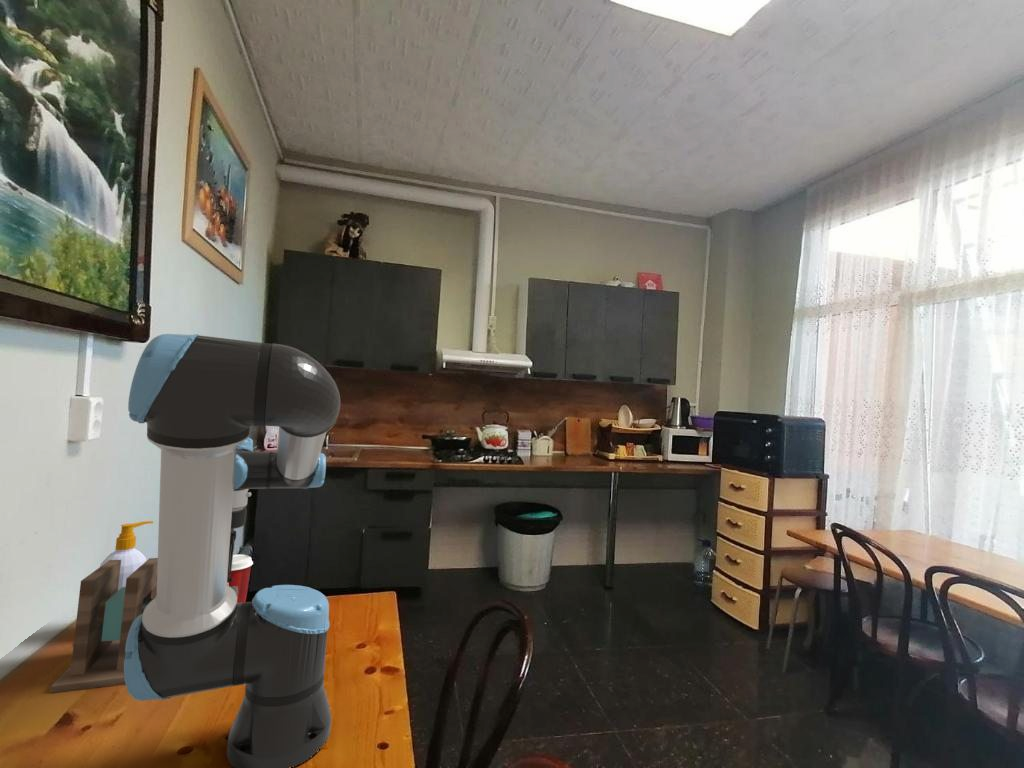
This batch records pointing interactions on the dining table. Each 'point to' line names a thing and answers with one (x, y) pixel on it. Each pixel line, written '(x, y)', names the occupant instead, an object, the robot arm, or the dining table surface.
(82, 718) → the dining table surface
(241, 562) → the coffee cup
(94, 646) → the block
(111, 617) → the spacer
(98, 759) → the dining table surface
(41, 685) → the dining table surface
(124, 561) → the soap bottle
